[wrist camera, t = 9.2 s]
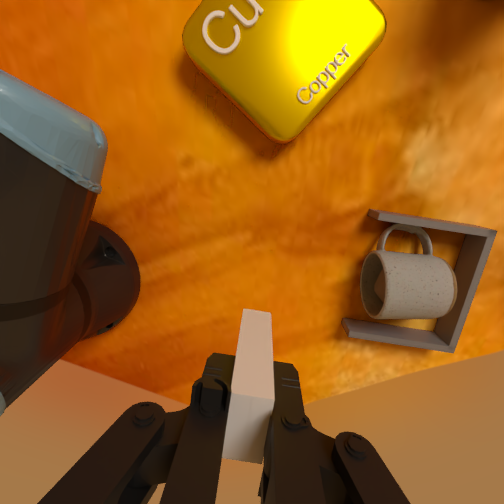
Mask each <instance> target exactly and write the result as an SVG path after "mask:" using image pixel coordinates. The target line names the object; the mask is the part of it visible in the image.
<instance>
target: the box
mask: <svg viewBox="0 0 504 504" xmlns="http://www.w3.org/2000/svg"><path fill="white" fill-rule="evenodd" d="M368 216H370V217H372V218H375V219H377V220H381V221H388V222H394V223H401V224H407V225H414V226H420V227H427V228H433V229H440V230H446V231H453V232H459V233H466V236H465V239H464V242H463V245H462V248H461V251H460V254H459V257H458V260H457V263H456V266H455V269H454V274H455V277H456V281H457V297H456V301H455V303H454V306H453V308H452V309H451V310H450V311H449V313H448V314H446V315H445V316H442V317H439V318H438V320H437V323H436V326H435V329H434V332H432V331H426V330H419V329H413V328H406V327H400V326H393V325H387V324H381V323H374V322H368V321H361V320H355V319H348V318H342V322H341V323H342V325H343V327H344V329H345V331H346V333H347V335H348V337H352V338H359V339H365V340H372V341H378V342H384V343H391V344H397V345H404V346H410V347H417V348H423V349H430V350H436V351H443V352H449V353H454V351H455V348H456V345H457V342H458V340H459V337H460V334H461V331H462V328H463V326H464V323H465V320H466V317H467V314H468V312H469V309H470V306H471V303H472V300H473V298H474V295H475V292H476V289H477V286H478V284H479V281H480V278H481V275H482V272H483V270H484V267H485V264H486V261H487V258H488V256H489V253H490V250H491V247H492V244H493V242H494V239H495V236H496V233H497V231H496V230H492V229H488V228H484V227H480V226H476V225H470V224H464V223H457V222H451V221H444V220H438V219H431V218H425V217H418V216H412V215H406V214H399V213H393V212H386V211H380V210H373V209H369V212H368Z"/></svg>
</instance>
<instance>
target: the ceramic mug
mask: <svg viewBox="0 0 504 504" xmlns="http://www.w3.org/2000/svg"><path fill="white" fill-rule="evenodd" d="M394 229H396V230H403V231H407V232H409V233H415V234H416V235H417V236H418V237H419V239H420V241H421V244H422V248H423V254H408V253H399V252H390V251H385V250H384V245H385V242H386V239H387V236H388V235H389V233H390V232H391V231H392V230H394ZM432 252H433V250H432V243H431V240H430V238H429V235H428V234H427V233H426V232H425V231H424V230H423V229H422V228H421V227H420V226H414V225H407V224H401V223H395V224H393V225H391V226H390V227H388V228H387V229H385V230H384V231H383V232H382V234H381V236H380V238H379V240H378V244H377V250H376V251H371V252H370V253H369V254H368V255H367V256H366V258H365V260H364V262H363V266H362V270H361V277H360V292H361V299H362V303H363V306H364V308H365V310H366V312H367V314H368V315H369V316H370V317H372V318H374V319H433V318H439V317H442V316H445V315H446V314H448V313H449V311H450V310H451V309H452V308H453V306H454V303H455V301H456V297H457V281H456V277H455V274H454V272H453V270H452V268H451V266H450V265H449V264H448V263H447V262H446V261H445V260H443V259H441V258H438V257H434V256H433V255H432Z"/></svg>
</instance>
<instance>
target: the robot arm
mask: <svg viewBox="0 0 504 504" xmlns="http://www.w3.org/2000/svg"><path fill="white" fill-rule="evenodd" d="M107 151H108V143H107V139H106V136H105V134H104V132H103V131H102V129H101V128H100V126H99V125H98V124H96V123H95V122H94V121H93V120H91V119H90V118H88V117H87V116H85V115H83V114H82V113H80V112H78V111H76V110H74V109H73V108H71V107H69V106H67V105H65V104H64V103H62V102H60V101H58V100H56V99H55V98H53V97H51V96H49V95H47V94H45V93H43V92H42V91H40V90H38V89H36V88H34V87H32V86H30V85H29V84H27V83H25V82H23V81H21V80H19V79H18V78H16V77H14V76H12V75H10V74H8V73H6V72H5V71H3V70H1V69H0V416H1V415H2V414H3V413H4V410H5V409H6V408H7V407H8V406H9V405H10V404H11V403H12V402H13V401H15V400H16V399H17V398H18V397H19V396H20V395H21V394H22V393H23V392H24V391H25V390H26V389H27V388H29V386H31V385H32V384H33V383H34V382H35V381H36V380H37V379H38V378H39V377H40V376H42V374H44V373H45V372H46V371H47V370H48V369H49V368H50V367H51V366H52V365H53V364H54V363H55V362H57V361H58V360H59V359H60V358H61V357H62V356H63V355H64V354H65V353H66V352H67V351H68V350H70V349H71V348H72V347H73V346H74V345H75V344H76V343H77V342H79V341H82V340H85V339H88V338H90V337H93V336H96V335H99V334H102V333H104V332H106V331H108V330H110V329H112V328H113V327H115V326H116V325H117V324H119V323H120V322H121V321H122V320H123V319H124V318H125V317H126V316H127V315H128V314H129V312H130V311H131V310H132V308H133V307H134V305H135V303H136V301H137V299H138V296H139V291H140V272H139V268H138V264H137V262H136V259H135V257H134V255H133V253H132V251H131V250H130V248H129V247H128V246H127V244H126V243H125V242H124V241H123V240H122V239H121V238H120V237H119V236H118V235H117V234H116V233H114V232H113V231H112V230H110V229H109V228H107V227H105V226H103V225H101V224H99V223H97V222H94V221H90V218H91V214H92V211H93V208H94V205H95V202H96V198H97V195H98V194H100V193H101V189H102V187H101V185H100V183H101V178H102V173H103V168H104V164H105V160H106V156H107ZM263 456H264V467H263V473H262V477H261V482H260V487H259V492H258V496H260V497H261V504H410V502H409V501H408V499H407V498H406V496H405V495H404V493H403V491H402V490H401V488H400V487H399V485H398V484H397V482H396V481H395V479H394V477H393V476H392V474H391V473H390V471H389V470H388V468H387V467H386V465H385V464H384V462H383V460H382V459H381V458H380V456H379V454H378V453H377V452H376V450H375V448H374V447H373V446H372V445H371V443H370V442H369V441H368V440H367V439H365V438H364V437H362V436H361V435H358V434H356V433H353V432H342V433H339V435H337V436H336V438H335V439H334V438H331V437H329V436H327V435H325V434H323V433H321V432H319V431H317V430H316V429H314V428H313V427H312V425H311V422H310V420H309V418H308V417H307V416H306V415H305V413H304V406H303V400H302V394H301V389H300V382H299V376H298V371H297V370H296V369H295V367H294V366H293V364H290V363H283V362H277V361H273V348H272V324H271V313H269V312H263V311H256V310H250V309H243V314H242V321H241V327H240V333H239V340H238V346H237V352H236V356H233V355H226V354H220V353H213V354H212V355H211V356H210V357H209V358H208V359H207V362H206V365H205V368H204V371H203V374H202V377H201V378H200V379H198V380H196V381H195V383H194V384H193V386H192V394H191V403H190V406H188V407H187V408H185V409H183V410H181V411H176V412H168V413H165V411H164V409H163V408H162V406H160V405H158V404H156V403H153V402H140V403H138V404H135V405H132V406H131V407H130V408H129V409H127V410H126V411H125V412H124V413H123V414H122V415H121V416H120V417H119V418H118V419H117V420H116V421H115V422H114V424H113V425H112V426H111V427H110V428H109V429H108V430H107V431H106V432H105V433H104V434H103V435H102V436H101V437H100V438H99V439H98V440H97V441H96V443H94V445H93V446H92V447H91V448H90V449H89V450H88V451H87V452H86V453H85V454H84V455H83V456H82V457H81V458H80V459H79V460H78V461H77V462H76V463H75V465H74V466H73V467H72V468H71V469H70V470H69V471H68V472H67V473H66V474H65V475H64V476H63V477H62V478H61V479H60V480H59V481H58V482H57V484H56V485H55V486H54V487H53V488H52V489H51V490H50V491H49V492H48V493H47V494H46V495H45V496H44V497H43V498H42V499H41V500H40V501H39V502H38V503H37V504H147V503H148V501H149V500H150V498H151V497H152V495H153V493H154V492H155V490H156V488H157V486H158V484H161V483H166V484H165V488H164V491H163V494H162V497H161V501H160V504H215V500H216V493H217V486H218V480H219V473H220V466H221V458H226V459H232V460H239V461H245V462H252V463H258V464H262V461H263Z"/></svg>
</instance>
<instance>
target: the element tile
mask: <svg viewBox="0 0 504 504" xmlns="http://www.w3.org/2000/svg"><path fill="white" fill-rule="evenodd" d="M386 23H387V22H386V19H385V16H384V13H383V12H382V10H381V8H380V7H379V6H378V5H377V4H376V3H375V2H374V0H203V1H202V2H201V3H200V5H199V6H198V7H197V9H196V10H195V12H194V13H193V14H192V16H191V17H190V18H189V20H188V21H187V23H186V25H185V27H184V30H183V34H182V41H183V46H184V48H185V50H186V53H187V54H188V56H189V57H190V59H191V60H192V62H193V63H194V65H195V66H196V68H197V69H198V70H199V71H200V72H201V73H202V74H203V75H204V76H205V77H206V78H207V79H208V80H209V81H210V82H211V83H212V84H213V85H214V86H215V87H216V88H217V89H219V90H220V91H221V92H222V93H223V94H224V95H225V96H226V97H227V98H228V99H229V100H230V101H231V102H232V103H233V104H234V105H235V106H236V107H237V108H238V109H239V110H240V111H241V112H242V113H243V114H244V115H245V116H246V117H247V118H248V119H249V120H250V121H251V122H252V123H253V124H254V125H255V126H256V127H257V128H258V129H259V130H260V131H261V132H262V133H263V134H264V135H265V136H266V137H267V138H268V139H270V140H271V141H273V142H275V143H277V144H286V143H288V142H291V141H292V140H293V139H295V138H296V137H297V136H298V135H299V134H300V132H301V131H302V130H303V129H304V128H305V127H306V126H307V125H308V124H309V123H310V121H311V120H312V119H313V118H314V117H315V116H316V115H317V114H318V113H319V111H320V110H321V109H322V108H323V107H324V106H325V105H326V104H327V103H328V101H329V100H330V99H331V98H332V97H333V96H334V95H335V94H336V93H337V92H338V90H339V89H340V88H341V87H342V86H343V85H344V84H345V83H346V82H347V80H348V79H349V78H350V77H351V76H352V75H353V74H354V73H355V72H356V70H357V69H358V68H359V67H360V66H361V65H362V64H363V63H364V62H365V61H366V59H367V58H368V57H369V56H370V55H371V54H372V53H373V52H374V51H375V49H376V48H377V47H378V46H379V45H380V43H381V42H382V40H383V37H384V35H385V33H386Z"/></svg>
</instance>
